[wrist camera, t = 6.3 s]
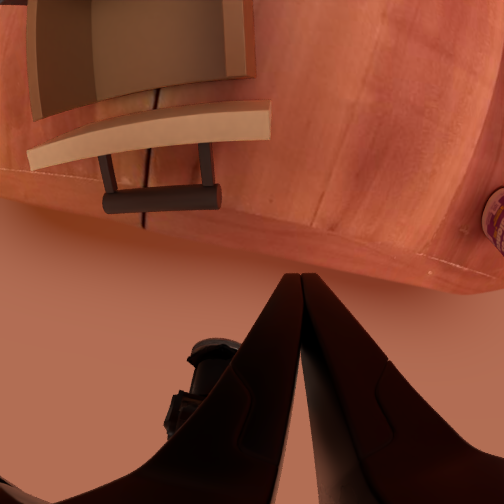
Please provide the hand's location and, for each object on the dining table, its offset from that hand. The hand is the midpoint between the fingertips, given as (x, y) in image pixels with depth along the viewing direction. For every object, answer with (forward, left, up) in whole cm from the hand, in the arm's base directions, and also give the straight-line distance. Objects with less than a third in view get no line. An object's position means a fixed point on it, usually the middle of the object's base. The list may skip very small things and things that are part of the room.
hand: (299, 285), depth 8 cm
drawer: (-1, +11, -12) cm, 16 cm away
